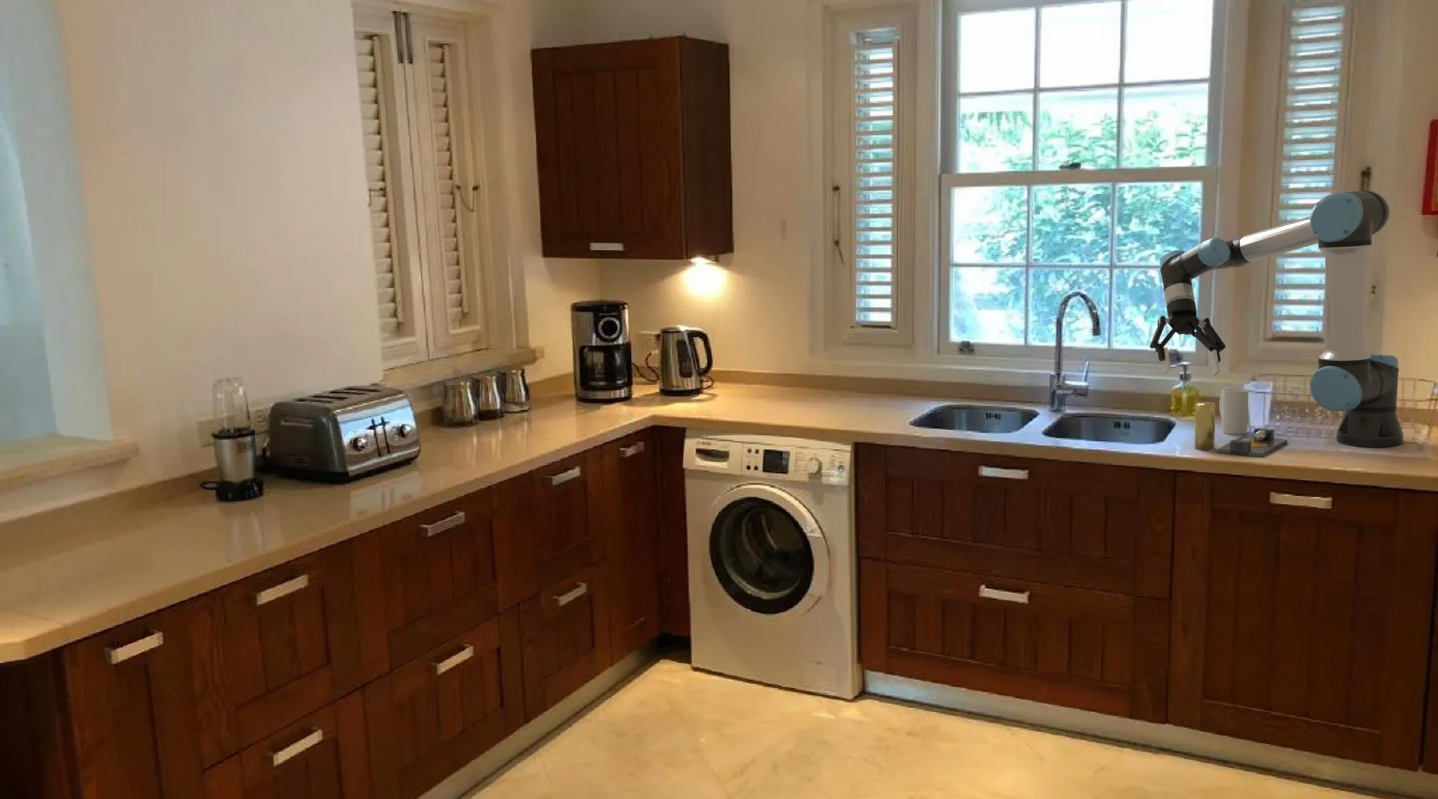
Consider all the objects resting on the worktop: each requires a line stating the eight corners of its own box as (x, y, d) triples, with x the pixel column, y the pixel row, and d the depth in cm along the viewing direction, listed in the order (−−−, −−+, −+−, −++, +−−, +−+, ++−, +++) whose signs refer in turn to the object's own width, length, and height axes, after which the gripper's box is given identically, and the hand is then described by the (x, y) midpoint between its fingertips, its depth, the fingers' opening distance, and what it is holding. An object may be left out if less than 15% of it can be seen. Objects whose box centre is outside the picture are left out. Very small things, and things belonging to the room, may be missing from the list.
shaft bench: (1243, 439, 311) (1244, 426, 311) (1287, 443, 304) (1287, 430, 303) (1216, 452, 298) (1217, 439, 297) (1261, 457, 290) (1261, 444, 290)
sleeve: (1217, 447, 304) (1218, 402, 302) (1210, 451, 300) (1210, 405, 298) (1198, 445, 307) (1199, 401, 305) (1191, 449, 303) (1192, 404, 301)
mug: (1253, 433, 318) (1254, 390, 316) (1231, 435, 316) (1231, 392, 314) (1230, 427, 327) (1231, 385, 325) (1209, 429, 326) (1209, 387, 324)
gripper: (1217, 311, 325) (1230, 380, 316) (1131, 307, 324) (1141, 376, 315) (1230, 299, 318) (1243, 368, 310) (1142, 294, 317) (1152, 364, 308)
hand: (1191, 372), depth 312 cm, fingers open, 13 cm apart
